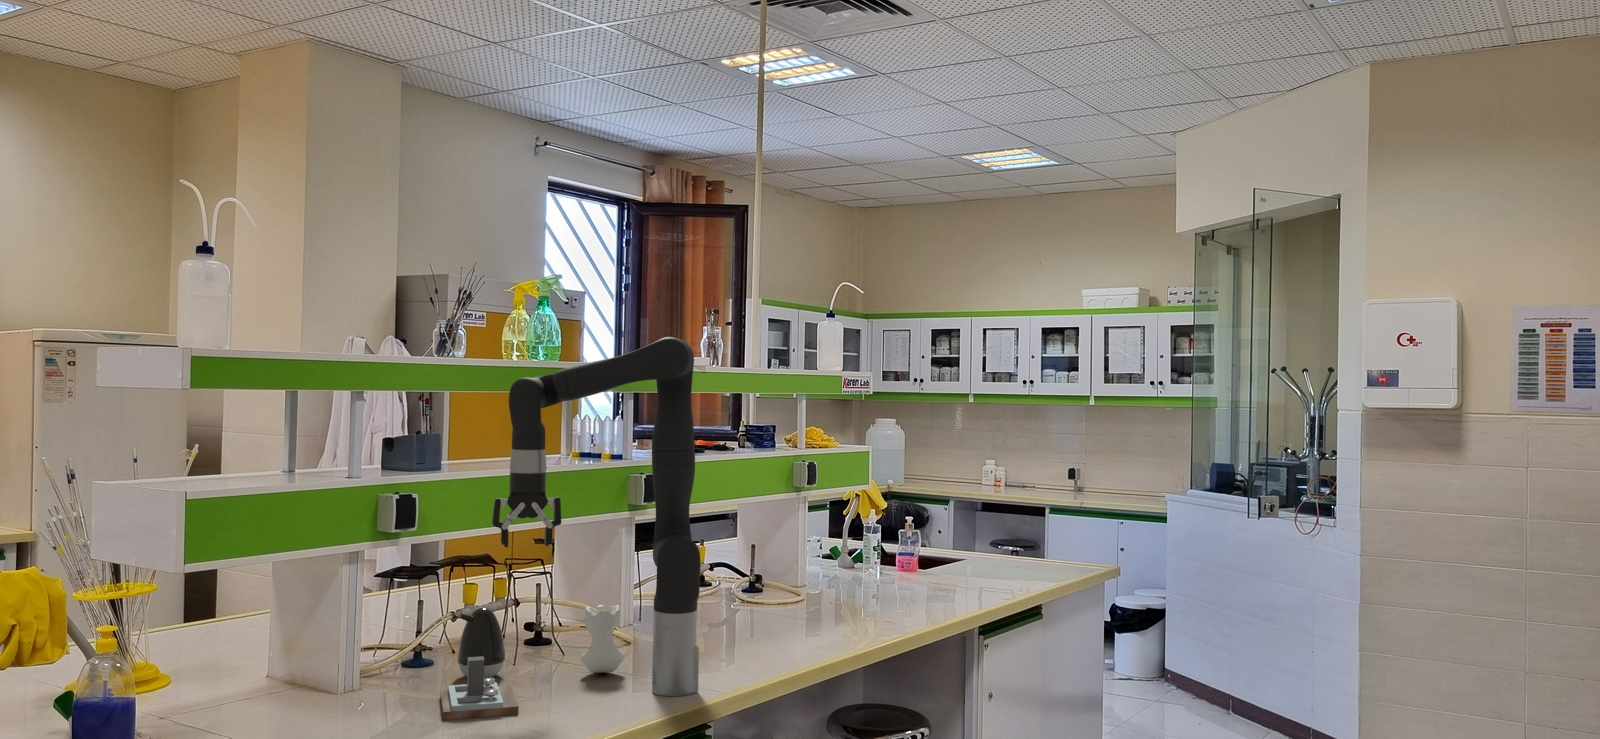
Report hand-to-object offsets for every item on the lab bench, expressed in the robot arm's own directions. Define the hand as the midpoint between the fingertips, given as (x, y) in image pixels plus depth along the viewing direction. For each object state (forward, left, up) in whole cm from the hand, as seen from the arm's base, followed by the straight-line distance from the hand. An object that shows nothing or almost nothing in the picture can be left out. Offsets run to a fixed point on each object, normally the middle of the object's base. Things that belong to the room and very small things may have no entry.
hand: (526, 546), depth 238 cm
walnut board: (+10, +12, -30) cm, 34 cm away
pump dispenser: (+8, -12, -30) cm, 34 cm away
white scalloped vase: (-18, -8, -30) cm, 36 cm away
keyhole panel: (+11, +12, -29) cm, 33 cm away
